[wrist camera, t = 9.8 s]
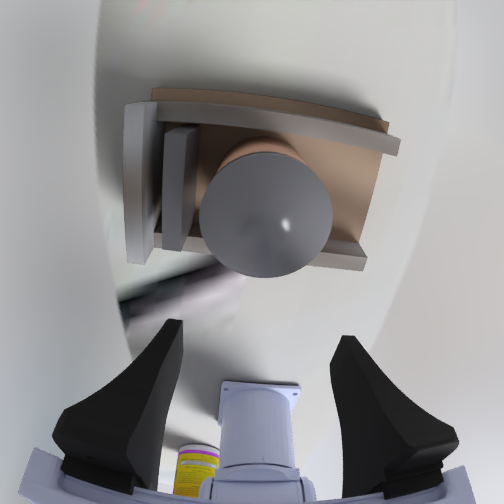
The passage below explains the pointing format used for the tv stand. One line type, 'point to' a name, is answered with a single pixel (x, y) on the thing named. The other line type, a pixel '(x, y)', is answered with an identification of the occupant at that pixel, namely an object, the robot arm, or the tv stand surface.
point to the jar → (265, 210)
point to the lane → (241, 128)
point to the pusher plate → (179, 184)
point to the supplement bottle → (194, 468)
